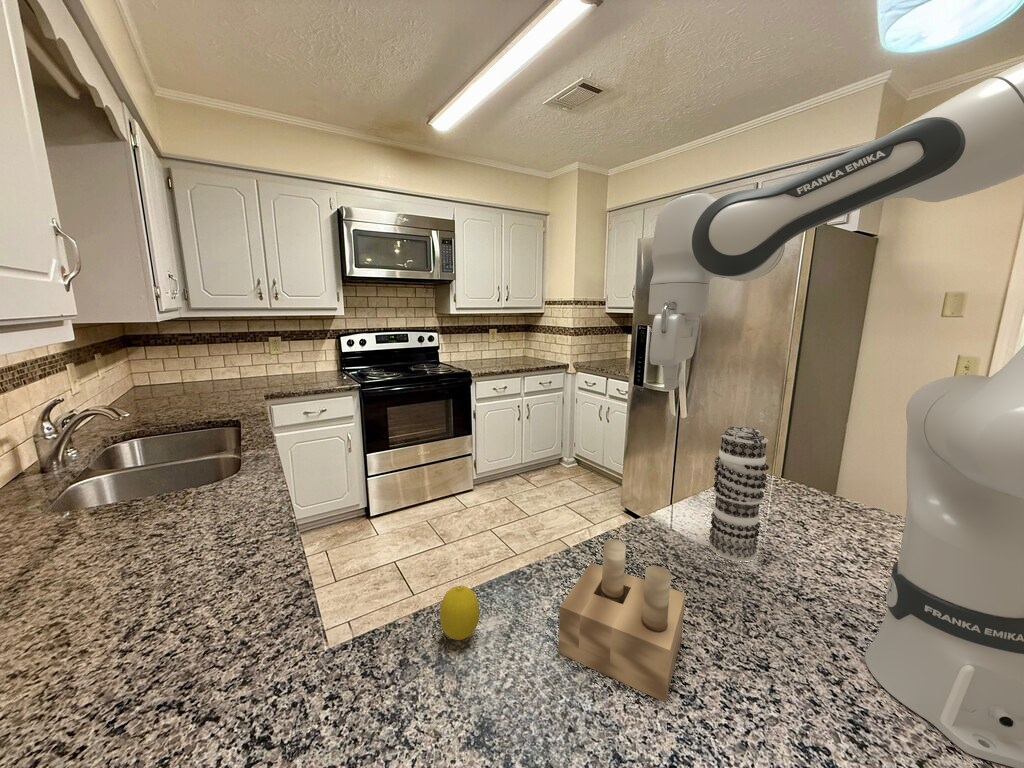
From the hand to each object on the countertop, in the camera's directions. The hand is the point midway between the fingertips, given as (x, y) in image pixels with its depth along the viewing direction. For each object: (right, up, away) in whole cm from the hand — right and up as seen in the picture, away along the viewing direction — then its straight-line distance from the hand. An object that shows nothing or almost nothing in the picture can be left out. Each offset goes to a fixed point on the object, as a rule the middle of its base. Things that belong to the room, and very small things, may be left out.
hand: (671, 388), depth 68 cm
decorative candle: (+18, -33, +14) cm, 40 cm away
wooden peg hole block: (-11, -36, -10) cm, 39 cm away
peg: (-12, -34, -9) cm, 37 cm away
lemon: (-34, -36, -10) cm, 50 cm away
